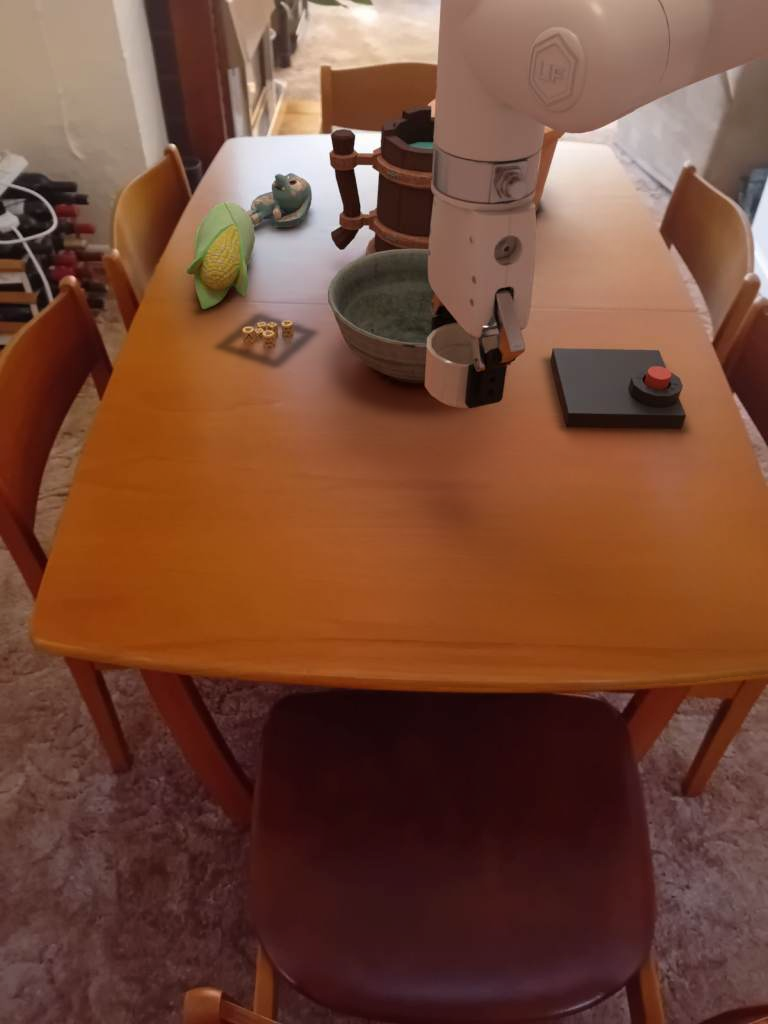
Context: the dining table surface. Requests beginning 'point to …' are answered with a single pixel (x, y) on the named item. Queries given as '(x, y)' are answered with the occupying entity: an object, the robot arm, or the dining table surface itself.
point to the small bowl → (450, 363)
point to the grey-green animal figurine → (283, 201)
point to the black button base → (614, 389)
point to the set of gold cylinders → (267, 333)
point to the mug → (389, 183)
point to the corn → (222, 253)
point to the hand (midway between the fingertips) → (464, 376)
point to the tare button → (658, 378)
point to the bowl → (386, 311)
